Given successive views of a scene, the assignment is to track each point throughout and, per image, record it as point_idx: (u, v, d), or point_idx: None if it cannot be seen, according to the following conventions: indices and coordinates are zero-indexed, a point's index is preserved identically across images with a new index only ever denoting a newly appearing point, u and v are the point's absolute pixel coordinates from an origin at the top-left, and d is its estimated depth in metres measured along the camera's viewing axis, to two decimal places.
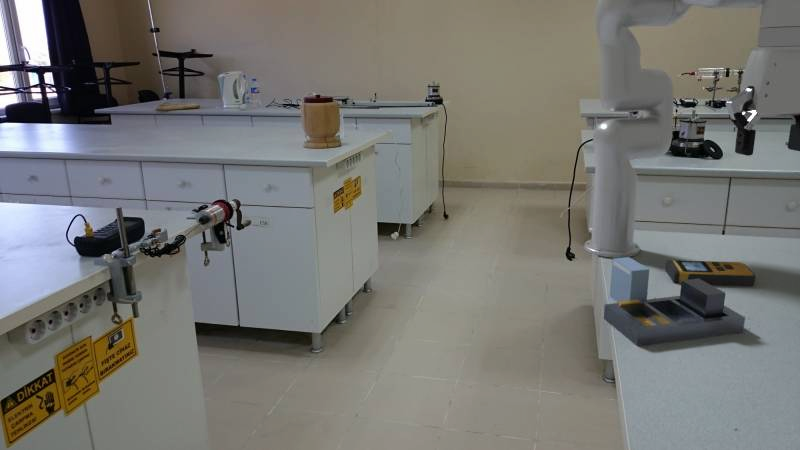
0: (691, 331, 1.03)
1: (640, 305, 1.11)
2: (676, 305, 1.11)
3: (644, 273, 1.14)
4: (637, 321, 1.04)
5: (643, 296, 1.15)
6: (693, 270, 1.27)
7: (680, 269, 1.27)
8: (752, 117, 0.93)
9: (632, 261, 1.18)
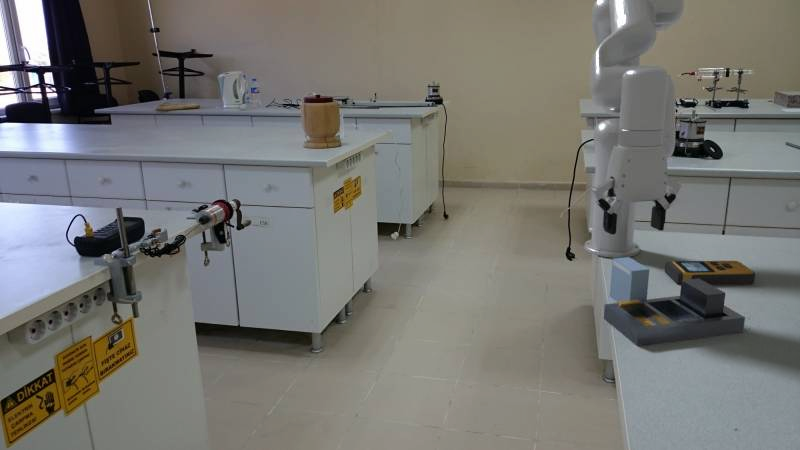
0: (691, 331, 1.03)
1: (640, 305, 1.11)
2: (676, 305, 1.11)
3: (644, 273, 1.14)
4: (637, 321, 1.04)
5: (643, 296, 1.15)
6: (695, 271, 1.26)
7: (682, 270, 1.27)
8: (613, 203, 1.10)
9: (632, 261, 1.18)
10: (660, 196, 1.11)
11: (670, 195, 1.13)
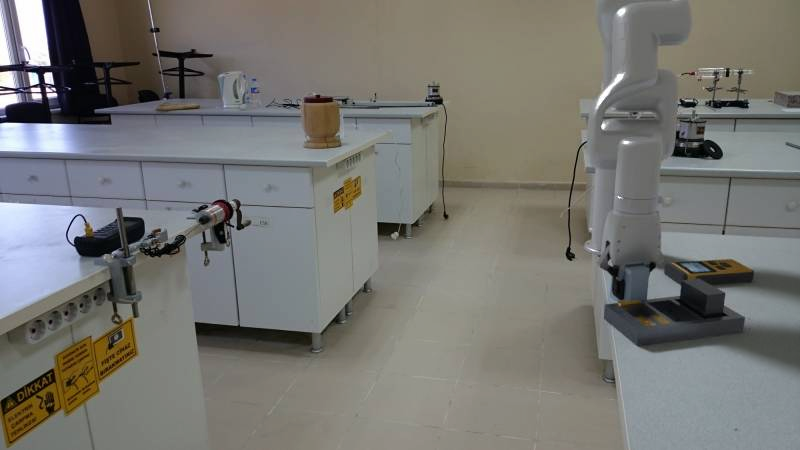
0: (691, 331, 1.03)
1: (640, 305, 1.11)
2: (676, 305, 1.11)
3: (644, 273, 1.14)
4: (637, 321, 1.04)
5: (643, 296, 1.15)
6: (698, 271, 1.26)
7: (686, 272, 1.26)
8: (618, 271, 1.15)
9: None
10: (654, 259, 1.15)
11: (650, 264, 1.17)
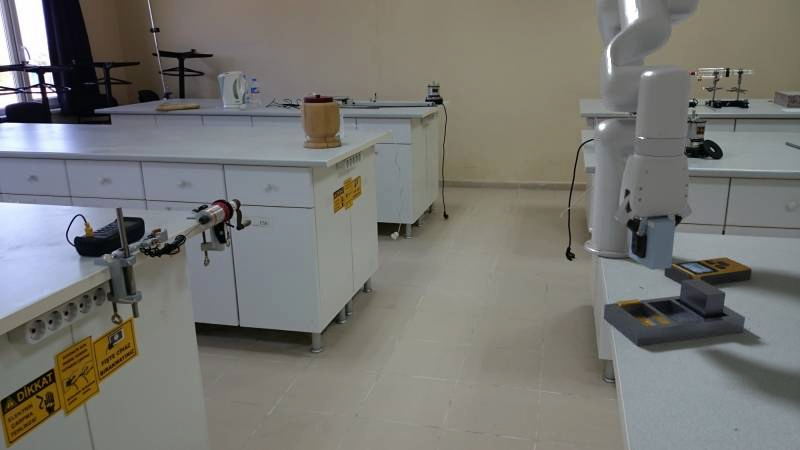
0: (691, 331, 1.03)
1: (640, 305, 1.11)
2: (676, 305, 1.11)
3: (670, 226, 0.99)
4: (637, 321, 1.04)
5: (668, 252, 1.00)
6: (701, 272, 1.26)
7: (691, 273, 1.25)
8: (639, 224, 1.00)
9: None
10: (680, 210, 1.00)
11: (675, 217, 1.02)
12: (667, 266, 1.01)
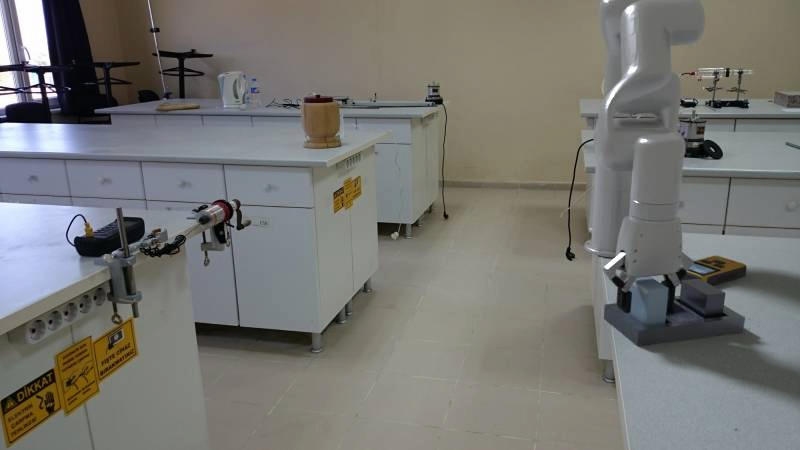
0: (691, 331, 1.03)
1: None
2: (676, 305, 1.11)
3: (663, 292, 1.02)
4: (637, 321, 1.04)
5: (661, 317, 1.04)
6: (706, 272, 1.25)
7: (698, 275, 1.24)
8: (627, 281, 1.03)
9: (649, 278, 1.06)
10: (674, 270, 1.03)
11: (680, 271, 1.05)
12: None
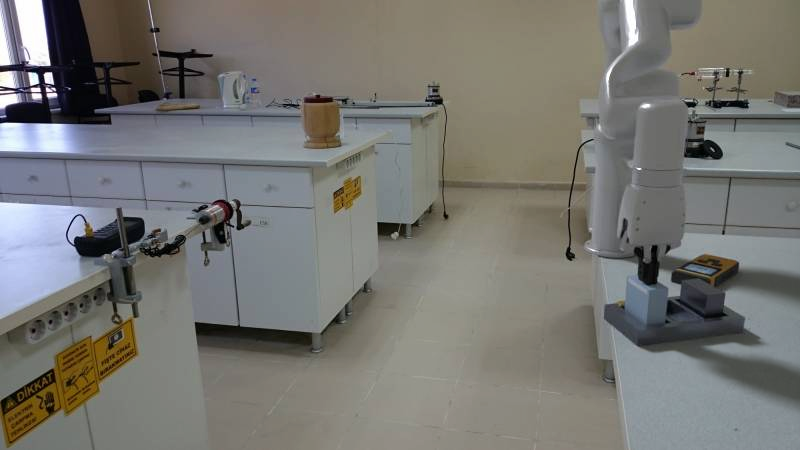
0: (691, 331, 1.03)
1: None
2: (676, 305, 1.11)
3: (663, 292, 1.02)
4: (637, 321, 1.04)
5: (661, 317, 1.04)
6: (711, 273, 1.25)
7: (706, 276, 1.23)
8: (644, 253, 1.02)
9: None
10: (677, 239, 1.02)
11: None
12: None
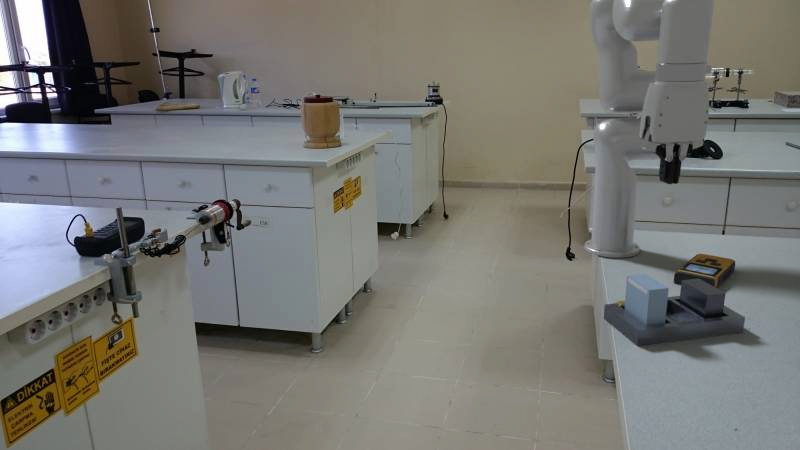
0: (691, 331, 1.03)
1: None
2: (676, 305, 1.11)
3: (663, 292, 1.02)
4: (637, 321, 1.04)
5: (661, 317, 1.04)
6: (713, 273, 1.25)
7: (710, 276, 1.23)
8: (666, 151, 1.03)
9: (649, 278, 1.06)
10: (700, 137, 1.02)
11: None
12: None
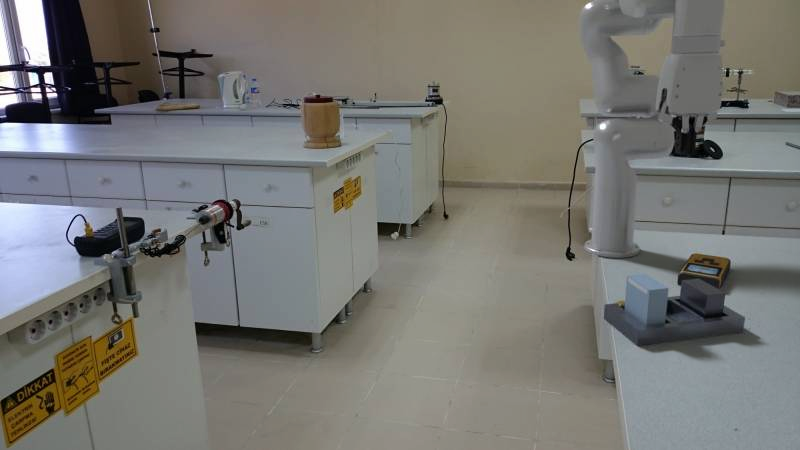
0: (691, 331, 1.03)
1: None
2: (676, 305, 1.11)
3: (663, 292, 1.02)
4: (637, 321, 1.04)
5: (661, 317, 1.04)
6: (716, 273, 1.25)
7: (714, 276, 1.23)
8: (682, 123, 1.06)
9: (649, 278, 1.06)
10: (715, 109, 1.05)
11: None
12: None
